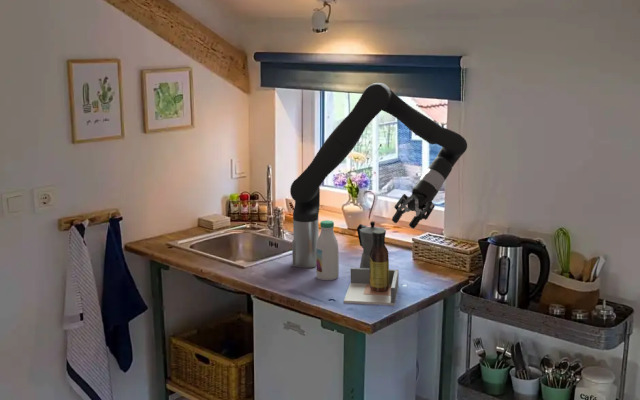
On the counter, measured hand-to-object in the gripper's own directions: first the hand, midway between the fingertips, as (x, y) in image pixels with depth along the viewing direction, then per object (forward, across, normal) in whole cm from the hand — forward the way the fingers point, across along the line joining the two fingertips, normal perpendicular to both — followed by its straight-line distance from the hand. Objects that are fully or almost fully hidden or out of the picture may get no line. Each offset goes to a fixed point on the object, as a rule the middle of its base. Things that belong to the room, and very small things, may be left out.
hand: (402, 224), depth 240 cm
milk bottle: (+25, -23, +5) cm, 34 cm away
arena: (+24, 0, +6) cm, 25 cm away
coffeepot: (+13, -20, +17) cm, 30 cm away
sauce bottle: (+22, 0, +8) cm, 23 cm away
